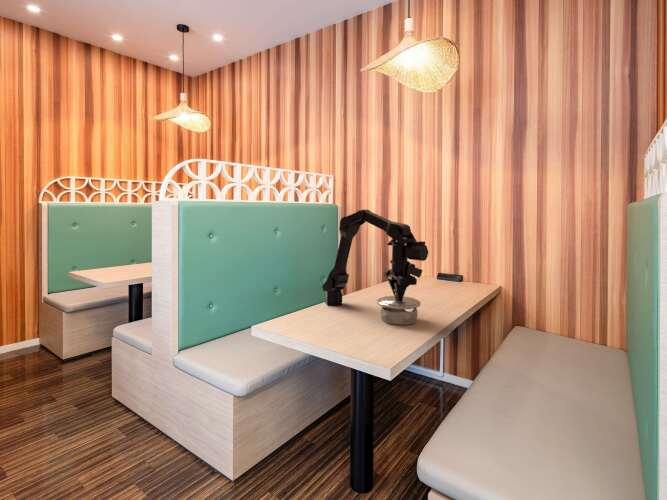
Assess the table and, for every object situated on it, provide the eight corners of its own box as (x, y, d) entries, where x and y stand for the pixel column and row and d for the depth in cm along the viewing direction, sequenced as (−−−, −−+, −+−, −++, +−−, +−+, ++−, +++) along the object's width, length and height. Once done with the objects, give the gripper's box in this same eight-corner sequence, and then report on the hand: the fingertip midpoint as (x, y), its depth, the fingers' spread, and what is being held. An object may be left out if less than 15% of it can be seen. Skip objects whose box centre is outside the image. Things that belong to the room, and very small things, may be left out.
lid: (385, 310, 131) (386, 295, 131) (371, 299, 147) (371, 285, 146) (427, 308, 135) (428, 293, 134) (409, 297, 150) (410, 284, 150)
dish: (388, 313, 151) (388, 301, 151) (422, 318, 144) (422, 306, 144) (373, 322, 139) (373, 309, 138) (409, 328, 132) (410, 315, 131)
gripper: (431, 261, 131) (429, 304, 133) (410, 254, 150) (408, 293, 151) (401, 261, 129) (400, 306, 131) (383, 255, 147) (382, 294, 149)
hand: (398, 299), depth 141 cm, fingers closed on lid, 3 cm apart
